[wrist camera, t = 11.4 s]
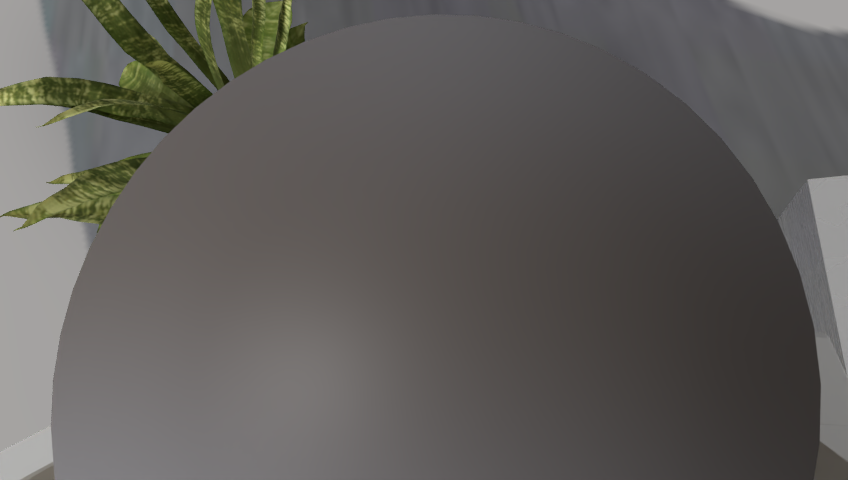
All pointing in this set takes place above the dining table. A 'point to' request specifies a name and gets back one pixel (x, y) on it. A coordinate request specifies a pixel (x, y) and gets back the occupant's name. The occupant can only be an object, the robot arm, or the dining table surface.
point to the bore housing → (822, 254)
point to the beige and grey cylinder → (439, 279)
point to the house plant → (149, 88)
